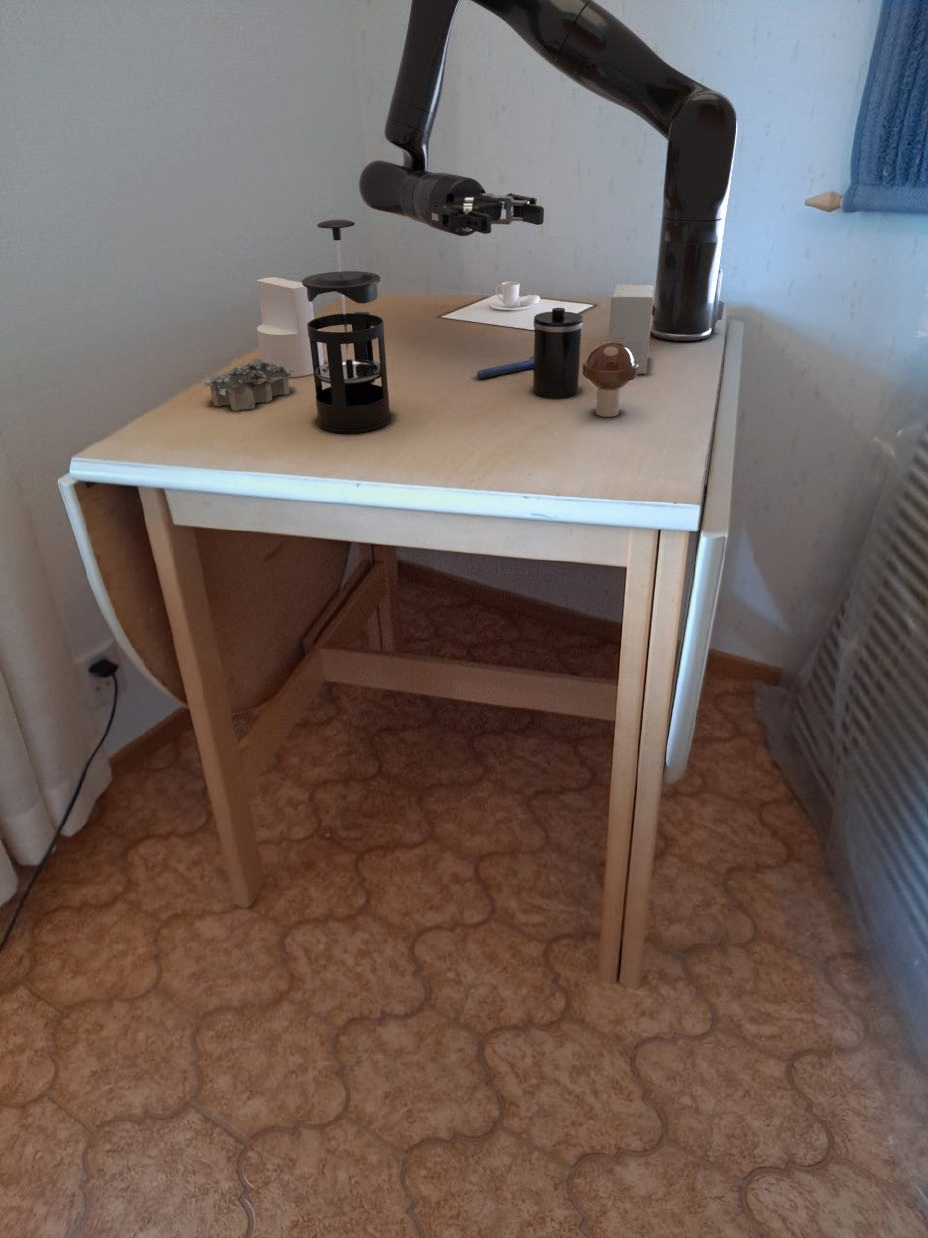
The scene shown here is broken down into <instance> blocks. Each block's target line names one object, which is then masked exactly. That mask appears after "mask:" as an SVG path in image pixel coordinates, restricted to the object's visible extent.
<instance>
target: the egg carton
mask: <svg viewBox="0 0 928 1238" xmlns="http://www.w3.org/2000/svg"><path fill="white" fill-rule="evenodd" d="M292 372H293V371H292V370H290V372H287V371H286V370H285V369H284V367H283V366H280V367H278V366H277V365H276V364H271V363H270V362H268V363H265V362H264V361H262V360H261V358H258V357H256V358H255V359H253V360H252V361H251V362H248V363H246V364H244V365H241V366H240V367H237V366H234V367H233V368H232V369H230V370H228V371H224V372H223V373H221V374H211V375H208V376H207V377H206V378H205V381H204V383H203V386H204V387H209V388H210V392H211V393H210V395H211V400H212V404H213V406H215V407H221V406H229V407H230V408H231V410H232V411H235V412H237V411H241V410H243V411H244V410H253V409H254V408H255V405H256V404H257V403H258V404H259V403H268V402H271V401H273V397H275V396H286V395H289V394H290V392H291V391H290V384H289V379H292V377H291V373H292Z"/></svg>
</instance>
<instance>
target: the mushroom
mask: <svg viewBox="0 0 928 1238" xmlns="http://www.w3.org/2000/svg"><path fill="white" fill-rule="evenodd" d="M637 372H638V363H637V361H635V360H634V358H633V355H632V353H631V351H630V350H629V349H628V348H627V347H626V346H625V345H623V344H621V343H618V342H609V341H605V342H602V343H600V344H599V345H597V346H596V347H594V348H593V349H592V350H591V352H590V354H589V356H588V358H586V359H585V360H584V361H583V364H582V375H583V378H586V379H587V380H589V381H590V383H591V384H592V385H594V386H595V387H596V388H597V390H596V391H597V392H596V406H595V414H596V415H598V416H599V417H603V418H604V417H605V418H612V417H616V416H618V415H619V410H620V400H621V399H620V397H621V389H622V388H624V387H625V386H626V385H627V384H628V383H630V381H633V380H634V379H636V378H637V376H638V374H637Z"/></svg>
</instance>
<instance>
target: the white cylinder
mask: <svg viewBox="0 0 928 1238" xmlns="http://www.w3.org/2000/svg"><path fill="white" fill-rule="evenodd" d="M256 288H257V294H258V302H259V309H260V316H261V322H262V323H260V324H258V326H257V327H256V332H257V339H258V345H259V353H260V360H262V361H264V362H265V363H268V362H270V363H271V364H276V365H277V366H278V367H280V366H283V367H284V369H285V370H286V371H287V372H290V370H292V371H293V372H292V373H291V378H297V377H298V378H299V377H305V376H310V375H314V372H313V364H312V355H311V347H310V338H309V336H308V329H307V324H308V322H309V321H311V320H313V319H315V315H314V306H313V304H314V303H313V301H312V302H309V301H308V295H307V287H305V286H303V285H302V282H299V281H295V280H292V279H291V280H290V279H286V278H281V277H275V276H270V277H263V278H260V279H256ZM318 330H319V331H321V329H318ZM317 346H318V354H319V363H320V366H322V365H324V364H325V359H324V351H323V349H324V348H323V343H320V342H317Z"/></svg>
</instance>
